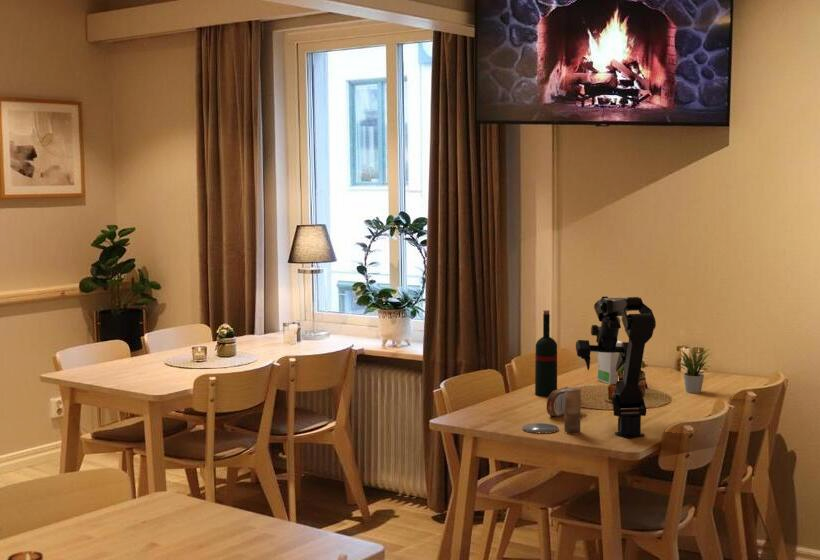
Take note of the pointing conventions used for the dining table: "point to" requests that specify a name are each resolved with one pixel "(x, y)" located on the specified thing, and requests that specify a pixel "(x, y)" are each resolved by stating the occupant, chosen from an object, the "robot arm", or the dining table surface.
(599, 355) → the skincare box
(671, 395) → the dining table surface
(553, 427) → the coaster
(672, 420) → the dining table surface
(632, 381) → the robot arm
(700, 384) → the house plant
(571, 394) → the pepper mill
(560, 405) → the tin
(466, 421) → the dining table surface
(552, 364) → the wine bottle
